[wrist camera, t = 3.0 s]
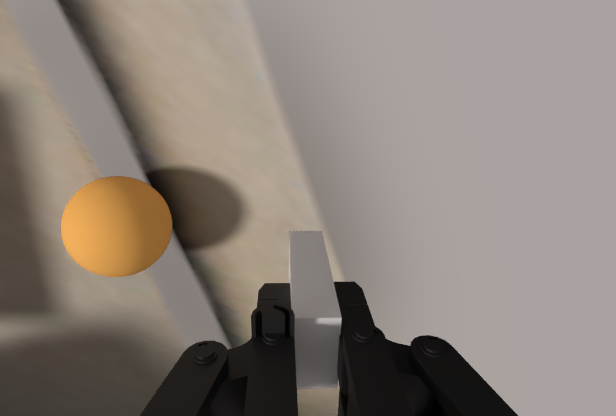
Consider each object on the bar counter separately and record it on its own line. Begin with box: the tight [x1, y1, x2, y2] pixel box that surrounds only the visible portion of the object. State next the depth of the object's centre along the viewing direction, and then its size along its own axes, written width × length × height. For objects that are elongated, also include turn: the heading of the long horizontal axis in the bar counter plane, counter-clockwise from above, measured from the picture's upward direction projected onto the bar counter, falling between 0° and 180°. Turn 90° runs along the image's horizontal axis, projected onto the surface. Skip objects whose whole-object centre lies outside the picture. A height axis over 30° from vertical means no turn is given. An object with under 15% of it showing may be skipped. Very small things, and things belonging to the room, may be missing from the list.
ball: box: [61, 176, 172, 277], centre depth 22 cm, size 6×6×6 cm
